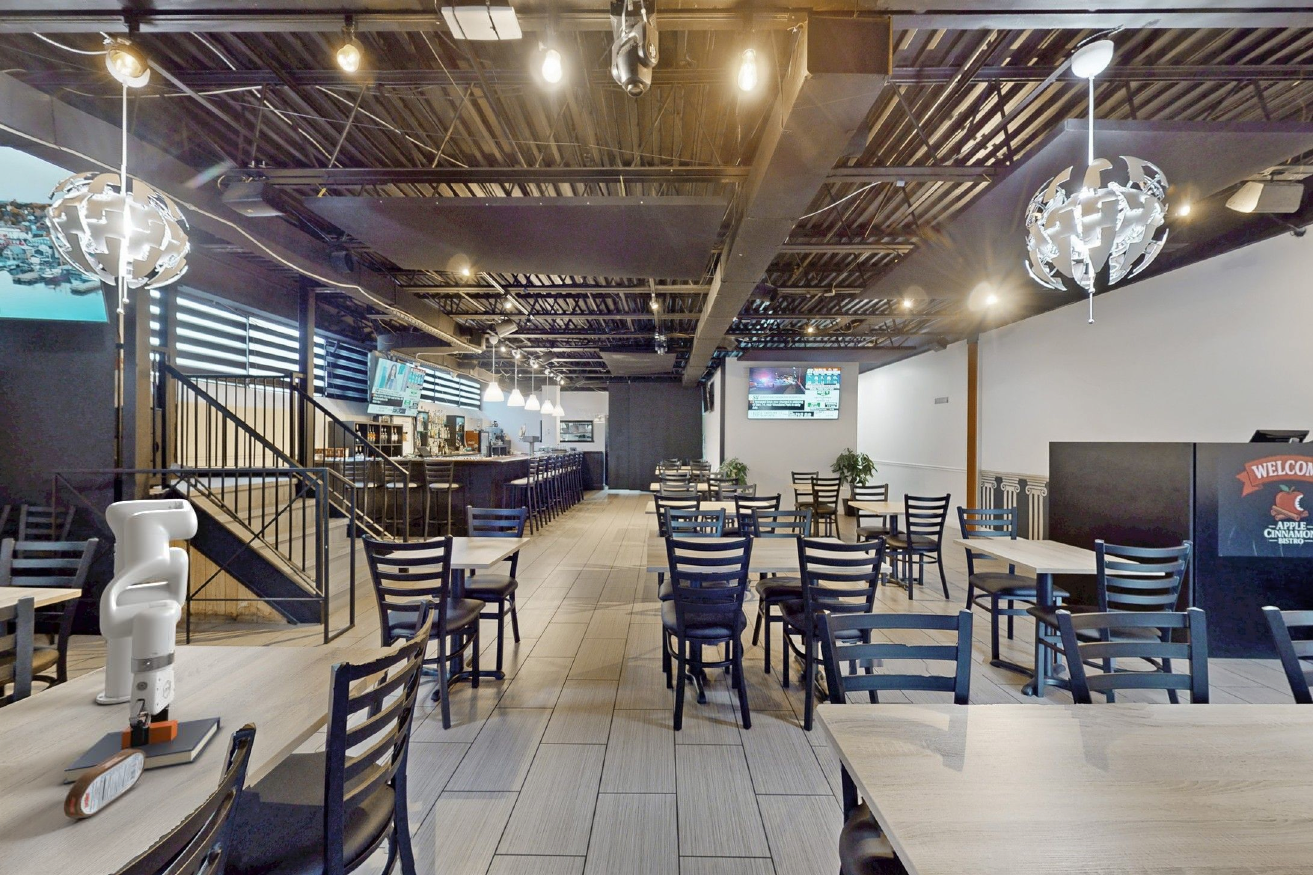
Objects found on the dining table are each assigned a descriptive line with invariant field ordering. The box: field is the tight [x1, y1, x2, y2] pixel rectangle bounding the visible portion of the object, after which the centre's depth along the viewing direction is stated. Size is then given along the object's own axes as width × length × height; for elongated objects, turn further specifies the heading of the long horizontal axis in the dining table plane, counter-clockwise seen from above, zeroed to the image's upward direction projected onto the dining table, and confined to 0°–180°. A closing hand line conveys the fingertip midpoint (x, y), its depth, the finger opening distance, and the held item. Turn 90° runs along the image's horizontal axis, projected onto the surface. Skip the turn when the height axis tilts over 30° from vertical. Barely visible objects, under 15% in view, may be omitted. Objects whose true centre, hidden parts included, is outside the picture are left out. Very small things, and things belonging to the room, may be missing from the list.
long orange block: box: [121, 719, 178, 748], centre depth 124 cm, size 3×9×4 cm, turn 113°
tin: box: [63, 749, 146, 819], centre depth 107 cm, size 15×3×8 cm, turn 5°
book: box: [63, 716, 221, 785], centre depth 124 cm, size 16×22×3 cm
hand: (149, 735), depth 124 cm, fingers open, 8 cm apart
